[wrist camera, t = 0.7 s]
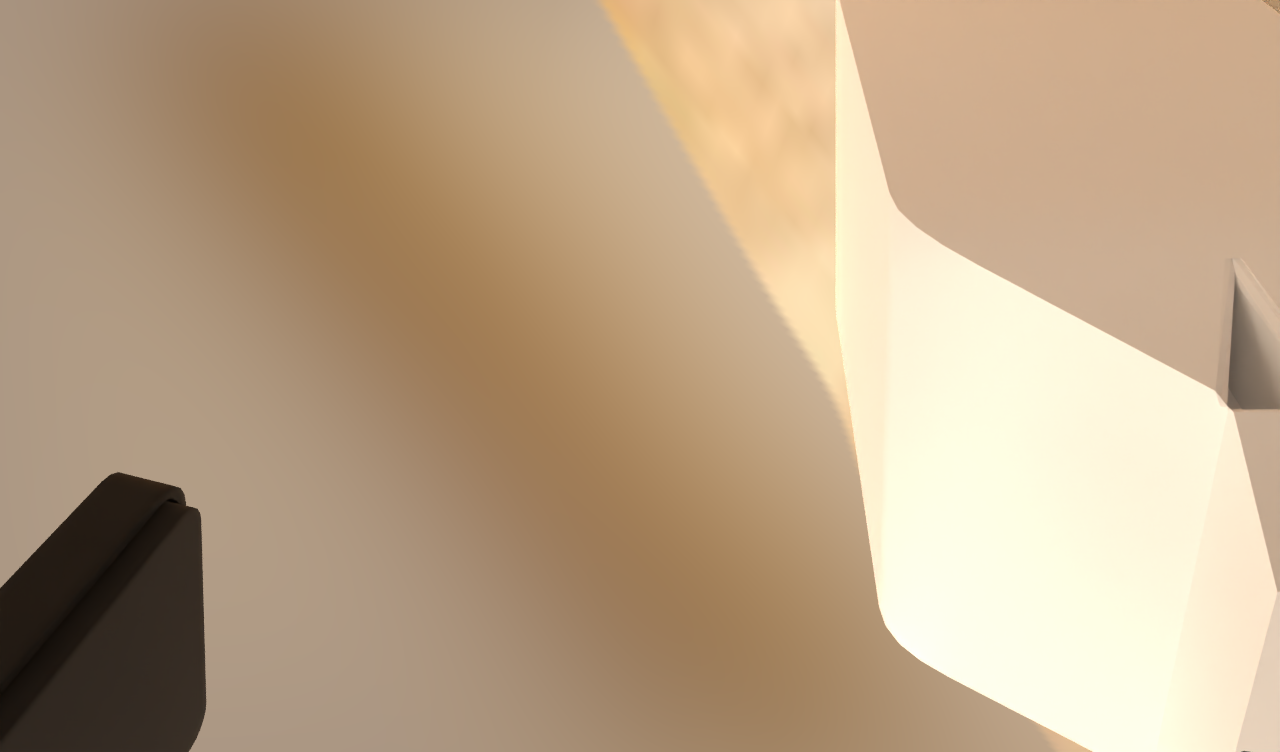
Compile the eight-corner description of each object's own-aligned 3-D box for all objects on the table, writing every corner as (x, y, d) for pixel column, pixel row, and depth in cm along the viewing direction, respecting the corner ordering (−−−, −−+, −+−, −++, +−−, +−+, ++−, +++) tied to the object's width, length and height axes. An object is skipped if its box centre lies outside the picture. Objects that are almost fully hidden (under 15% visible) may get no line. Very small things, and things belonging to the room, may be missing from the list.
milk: (835, -15, 35) (882, 391, 13) (1209, -40, 34) (1992, 381, 11) (835, 311, 41) (868, 967, 19) (1154, 304, 40) (1596, 1023, 17)
